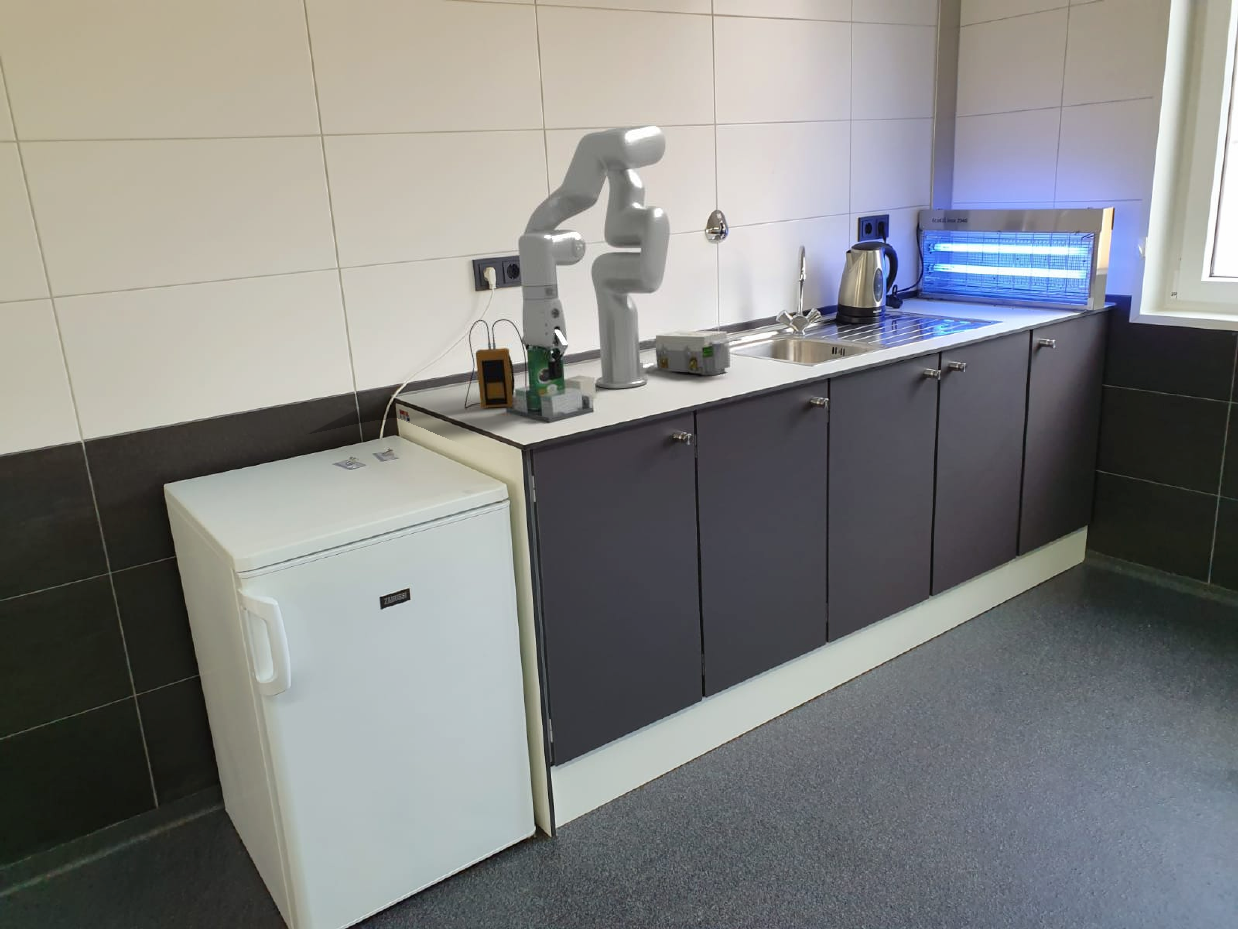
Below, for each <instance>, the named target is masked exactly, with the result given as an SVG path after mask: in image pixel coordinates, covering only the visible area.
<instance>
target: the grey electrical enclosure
mask: <svg viewBox="0 0 1238 929" xmlns="http://www.w3.org/2000/svg"><path fill="white" fill-rule="evenodd" d="M738 341H742V338H740V337H739V338H737V337H736V338H730V339H729V338H728V332H727V331H710V330H709V331H707V330H706V331H705V330H704V331H703V330H677V331H670V332H665V333H661V334H656V335H655V338H653V339H646V340H644V343H653V342H655V343H654V346H655V357H656V359H655V360H656V365H657V366H656V367H657V371H661V372H663V371H664V372H681V373H688V372H689V373H691V374H700V376H714V375H719V374H724V373H725V372H726V369H727V368H730V367H731V353H730V350H731V349H730V343H733V342H738Z"/></svg>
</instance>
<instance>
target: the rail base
mask: <svg viewBox="0 0 1238 929" xmlns="http://www.w3.org/2000/svg"><path fill="white" fill-rule="evenodd" d="M514 393H515V398H516V399H515V402H516V404H515V405H512V406H510V407H507V406H505V410H506V413H509V414H513V415H518V416H521V417H525V418H528V419H529V418H530V419H533V420H537V421H542V422H545V423H549V424H550V423H554V422H557V421H559V422H560V421H562V420H566V419H569V418H570V419H571V418H574V417H579V416H582V415H586V414H589V413H593V412H594V411H595V409H594V399H593V396H591V395H586V394H582V391H581V390H578V389H573V388H567V389H563V390H558V391H554V392H549V393H545V394H541V406H542V408H541V409H537V410H535V409H532V408H531V404H530V390H529V385H526V387H525V386H523V387H517V388H514Z"/></svg>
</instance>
